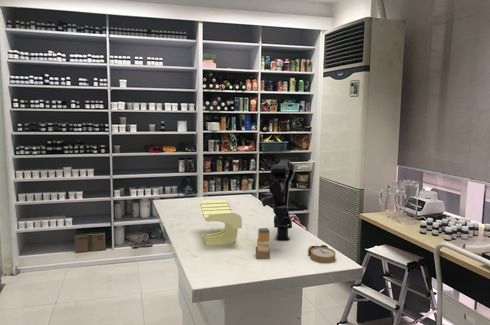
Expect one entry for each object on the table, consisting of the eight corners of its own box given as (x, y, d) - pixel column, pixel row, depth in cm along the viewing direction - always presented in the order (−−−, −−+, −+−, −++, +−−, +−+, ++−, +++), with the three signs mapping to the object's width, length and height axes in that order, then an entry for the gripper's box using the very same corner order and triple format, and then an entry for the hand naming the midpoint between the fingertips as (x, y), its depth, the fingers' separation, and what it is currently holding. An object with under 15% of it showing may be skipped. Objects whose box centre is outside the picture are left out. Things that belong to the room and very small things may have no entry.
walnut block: (255, 254, 182) (255, 246, 181) (268, 254, 182) (268, 246, 181) (256, 259, 176) (256, 251, 175) (269, 259, 176) (269, 251, 175)
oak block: (257, 247, 180) (257, 238, 180) (267, 247, 180) (267, 238, 180) (257, 251, 175) (257, 242, 175) (268, 251, 175) (268, 242, 175)
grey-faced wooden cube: (258, 238, 180) (258, 228, 179) (267, 238, 180) (267, 228, 180) (260, 242, 175) (260, 231, 175) (269, 241, 176) (269, 230, 175)
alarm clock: (317, 258, 170) (304, 241, 183) (315, 268, 171) (303, 251, 185) (340, 256, 172) (325, 240, 186) (339, 266, 174) (324, 249, 188)
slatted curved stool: (241, 248, 189) (241, 212, 187) (209, 251, 185) (209, 214, 183) (228, 230, 218) (228, 199, 216) (200, 232, 214) (200, 200, 212)
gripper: (261, 187, 196) (260, 217, 198) (263, 194, 177) (262, 228, 179) (283, 187, 196) (282, 217, 198) (287, 195, 177) (286, 228, 179)
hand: (278, 222), depth 188 cm, fingers open, 9 cm apart
